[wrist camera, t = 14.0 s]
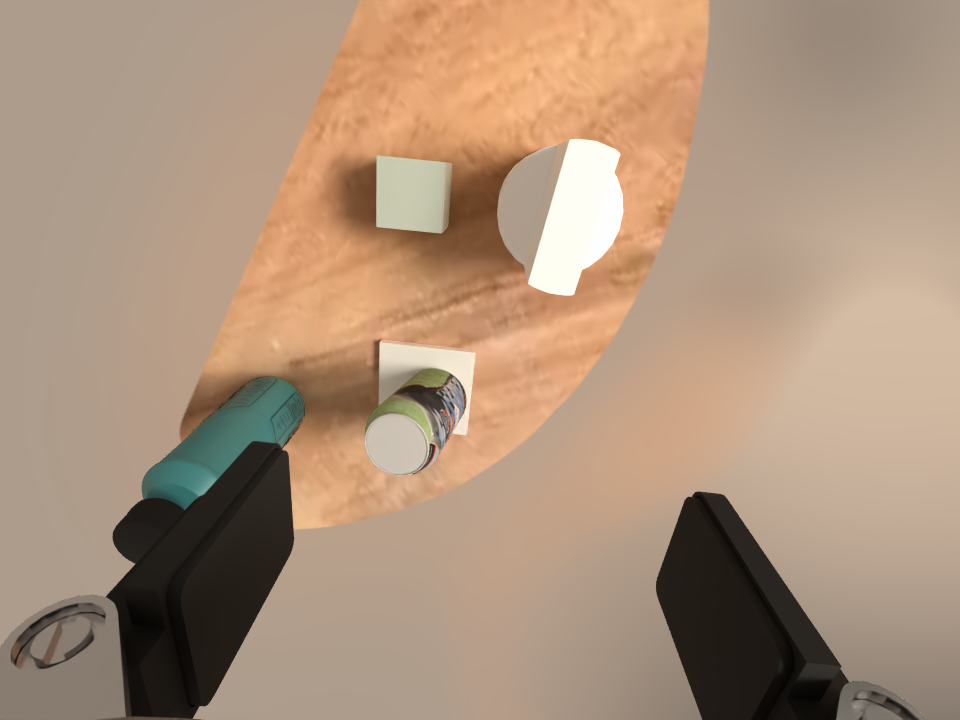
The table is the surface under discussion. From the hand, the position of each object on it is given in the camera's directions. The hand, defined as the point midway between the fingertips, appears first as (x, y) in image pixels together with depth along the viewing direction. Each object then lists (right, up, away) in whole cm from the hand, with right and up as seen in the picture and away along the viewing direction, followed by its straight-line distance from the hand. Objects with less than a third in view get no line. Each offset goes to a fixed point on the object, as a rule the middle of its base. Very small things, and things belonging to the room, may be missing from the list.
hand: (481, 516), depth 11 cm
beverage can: (-5, +1, +34) cm, 34 cm away
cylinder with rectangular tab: (+6, +17, +28) cm, 33 cm away
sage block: (-5, +18, +28) cm, 33 cm away
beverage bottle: (-20, 0, +36) cm, 41 cm away
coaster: (-5, +1, +35) cm, 35 cm away
